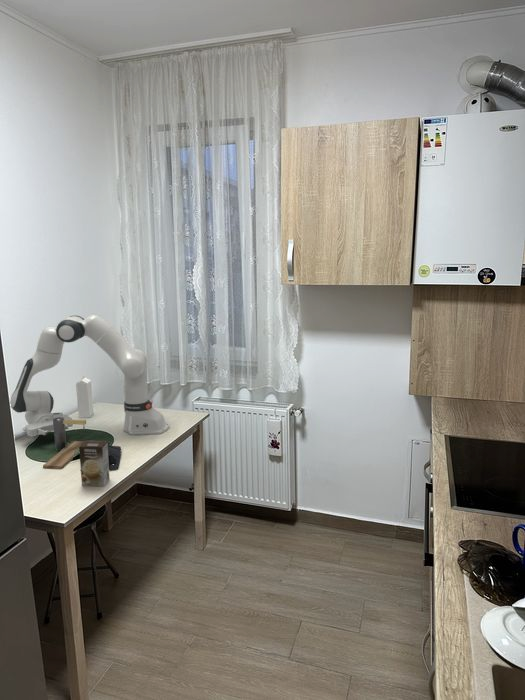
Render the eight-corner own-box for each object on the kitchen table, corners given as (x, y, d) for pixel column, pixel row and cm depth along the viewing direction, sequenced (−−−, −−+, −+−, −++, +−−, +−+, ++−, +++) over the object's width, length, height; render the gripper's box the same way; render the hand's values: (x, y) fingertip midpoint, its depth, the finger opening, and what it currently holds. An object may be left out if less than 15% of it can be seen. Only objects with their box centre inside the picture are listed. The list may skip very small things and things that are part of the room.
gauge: (89, 447, 224) (87, 418, 221) (85, 451, 219) (82, 421, 216) (58, 446, 225) (56, 416, 222) (53, 450, 220) (50, 420, 218)
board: (89, 444, 227) (89, 441, 227) (61, 468, 202) (61, 465, 202) (73, 443, 228) (72, 440, 228) (43, 468, 203) (42, 465, 202)
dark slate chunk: (126, 450, 221) (126, 440, 220) (117, 472, 200) (116, 461, 199) (91, 451, 220) (91, 441, 219) (78, 474, 198) (77, 463, 197)
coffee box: (80, 486, 187) (77, 446, 184) (87, 478, 194) (84, 439, 190) (104, 486, 187) (102, 446, 184) (110, 478, 193) (107, 440, 190)
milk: (78, 417, 262) (75, 377, 258) (82, 414, 268) (79, 374, 264) (90, 417, 262) (86, 377, 258) (93, 413, 268) (90, 374, 264)
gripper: (20, 421, 226) (31, 429, 216) (64, 411, 240) (77, 418, 230) (22, 434, 227) (33, 443, 218) (66, 423, 241) (78, 431, 231)
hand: (56, 430), depth 224 cm, fingers open, 8 cm apart
